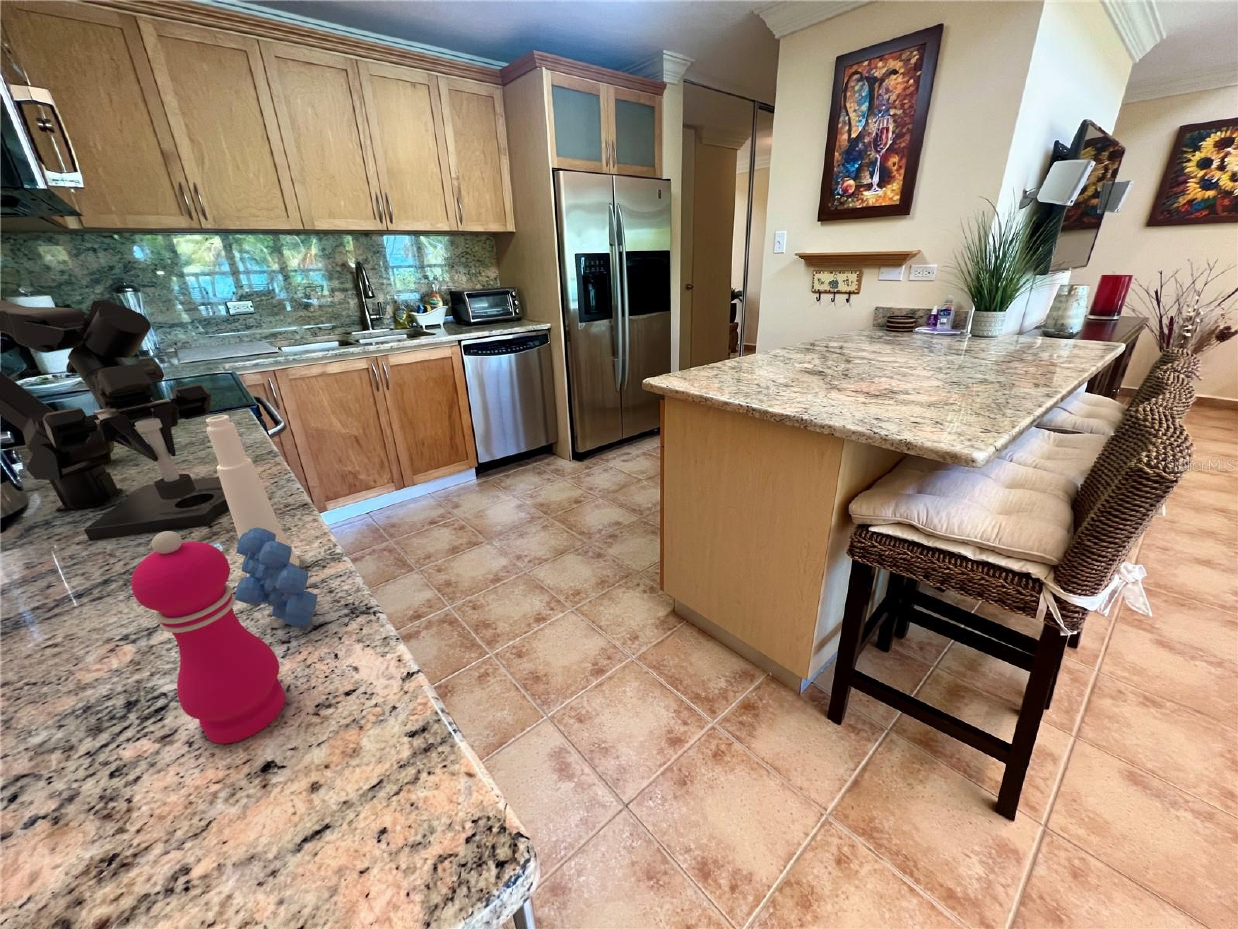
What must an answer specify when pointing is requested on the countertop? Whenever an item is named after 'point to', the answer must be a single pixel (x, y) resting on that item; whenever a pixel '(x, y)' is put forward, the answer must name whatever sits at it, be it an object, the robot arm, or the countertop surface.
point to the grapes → (274, 578)
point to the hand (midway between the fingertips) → (165, 457)
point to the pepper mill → (209, 639)
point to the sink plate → (161, 511)
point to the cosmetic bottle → (242, 483)
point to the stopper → (165, 463)
